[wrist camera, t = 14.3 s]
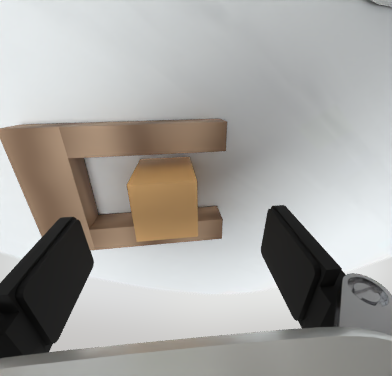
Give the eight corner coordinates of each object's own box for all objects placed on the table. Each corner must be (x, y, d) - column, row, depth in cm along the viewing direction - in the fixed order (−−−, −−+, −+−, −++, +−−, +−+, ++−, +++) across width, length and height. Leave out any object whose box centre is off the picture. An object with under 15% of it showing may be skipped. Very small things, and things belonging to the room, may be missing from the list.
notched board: (219, 118, 17) (227, 121, 15) (216, 223, 22) (221, 238, 20) (21, 124, 16) (-4, 129, 13) (62, 236, 20) (49, 253, 18)
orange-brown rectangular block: (189, 156, 18) (197, 181, 13) (190, 199, 20) (197, 236, 15) (140, 158, 18) (126, 185, 13) (146, 202, 20) (136, 241, 14)
